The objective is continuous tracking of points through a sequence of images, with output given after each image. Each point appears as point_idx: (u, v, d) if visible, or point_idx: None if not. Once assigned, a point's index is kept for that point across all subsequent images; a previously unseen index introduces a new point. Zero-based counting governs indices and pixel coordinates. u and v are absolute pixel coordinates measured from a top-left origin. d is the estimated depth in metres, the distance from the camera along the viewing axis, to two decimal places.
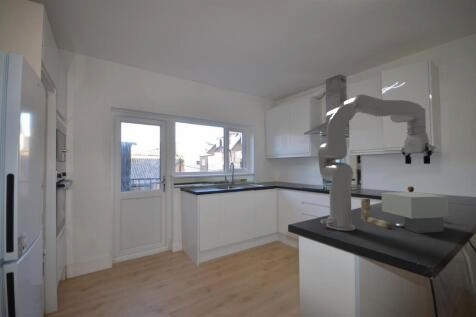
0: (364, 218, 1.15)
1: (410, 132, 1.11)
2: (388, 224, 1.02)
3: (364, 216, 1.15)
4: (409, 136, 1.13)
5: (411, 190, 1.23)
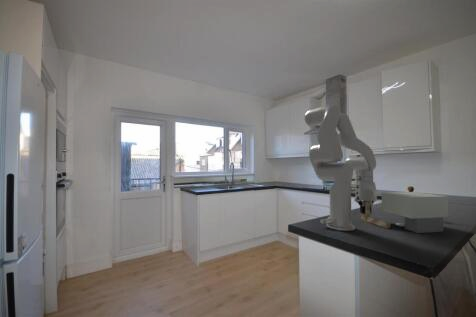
0: (364, 218, 1.15)
1: (370, 181, 1.13)
2: (388, 224, 1.02)
3: (364, 216, 1.15)
4: (366, 184, 1.14)
5: (411, 190, 1.23)
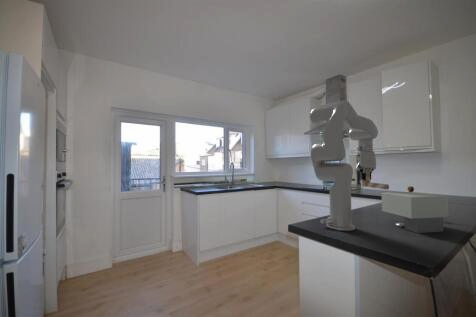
0: (365, 184, 1.26)
1: (370, 149, 1.24)
2: (387, 185, 1.13)
3: (365, 182, 1.26)
4: (366, 153, 1.25)
5: (411, 190, 1.23)
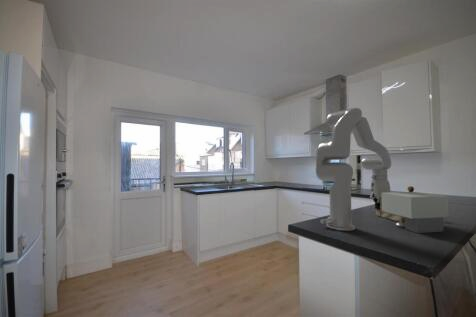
0: (379, 213, 1.25)
1: (385, 179, 1.23)
2: (403, 218, 1.12)
3: (379, 212, 1.25)
4: (381, 182, 1.24)
5: (411, 190, 1.23)
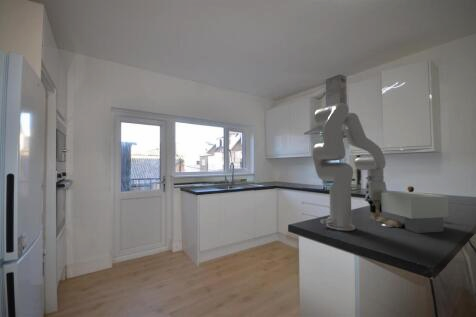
0: (374, 217, 1.16)
1: (380, 180, 1.14)
2: (399, 223, 1.03)
3: (374, 215, 1.17)
4: (376, 183, 1.15)
5: (411, 190, 1.23)
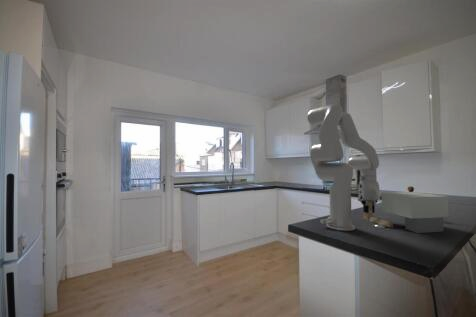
0: (367, 218, 1.16)
1: (373, 180, 1.13)
2: (391, 223, 1.03)
3: (367, 216, 1.16)
4: (369, 183, 1.14)
5: (411, 190, 1.23)
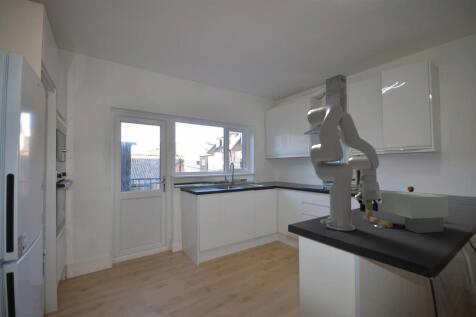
0: (366, 218, 1.16)
1: (373, 180, 1.13)
2: (390, 223, 1.03)
3: (366, 216, 1.16)
4: (369, 183, 1.14)
5: (411, 190, 1.23)
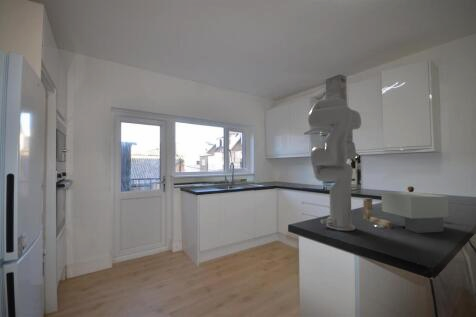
0: (366, 218, 1.16)
1: (349, 140, 1.24)
2: (390, 223, 1.03)
3: (366, 216, 1.16)
4: (346, 143, 1.24)
5: (411, 190, 1.23)
